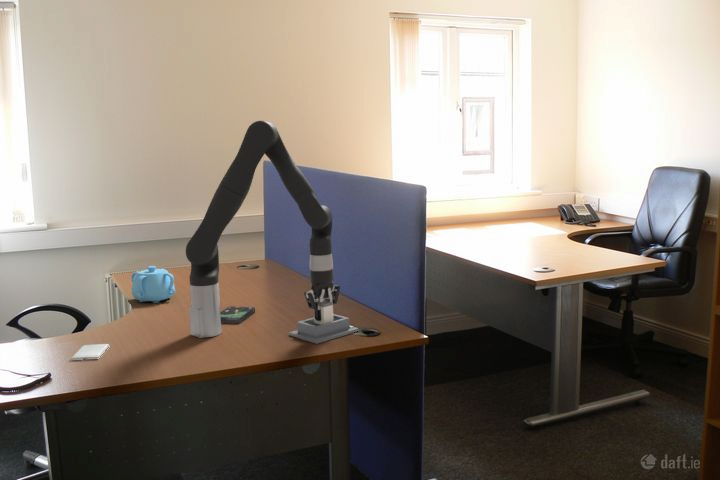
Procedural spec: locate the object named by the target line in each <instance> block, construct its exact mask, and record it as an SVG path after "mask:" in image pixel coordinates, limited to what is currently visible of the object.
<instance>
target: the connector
mask: <svg viewBox="0 0 720 480" xmlns="http://www.w3.org/2000/svg"><path fill="white" fill-rule="evenodd" d="M317 304H318V303H317ZM320 310H321V321H317V320H316V319H315V317H314V316H313V318H314V323H317V324H325V323H328V322H332V321H334V319H333V314H334V305H333V302H331V301H327V300H326V301H325V300H324V299H323V302H322V303H321V309H320Z"/></svg>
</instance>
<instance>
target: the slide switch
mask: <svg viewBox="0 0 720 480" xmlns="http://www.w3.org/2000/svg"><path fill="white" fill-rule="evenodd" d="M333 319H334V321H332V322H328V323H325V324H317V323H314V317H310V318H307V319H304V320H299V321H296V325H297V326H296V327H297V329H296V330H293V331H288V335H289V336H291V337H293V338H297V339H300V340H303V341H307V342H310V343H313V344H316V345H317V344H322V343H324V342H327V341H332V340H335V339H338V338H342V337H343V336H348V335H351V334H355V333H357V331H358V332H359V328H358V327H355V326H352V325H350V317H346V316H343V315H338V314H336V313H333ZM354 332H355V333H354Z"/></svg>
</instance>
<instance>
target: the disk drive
mask: <svg viewBox="0 0 720 480" xmlns="http://www.w3.org/2000/svg"><path fill="white" fill-rule="evenodd" d="M254 314H256V307H255V306H239V307H236V306H233V305H231V306H227V307H226V308H224V309H222V310H220V315H221V324H238V325H239V324H242V323H243V322H245V321H246V320H247V319H248V318H250V317H252V316H253V315H254Z"/></svg>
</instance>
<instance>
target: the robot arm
mask: <svg viewBox="0 0 720 480" xmlns="http://www.w3.org/2000/svg"><path fill="white" fill-rule="evenodd" d="M264 155H265V156H266V157H267V158H268V159H269V160H270V162H271V163H272V165H273V166H274V168H275V170H276V171H277V173H278V176H279V177H280V179H281V181H282V183H283V185H284V187H285V189H286V190H287V192H288V193H289V195H290V197H292V199H293V200H294V202H295V203H296V205H297V206H298V209H299V211H300V212H301V215H302V217H303V219H304V221H305V222H306V223H307V224H308V226H310V228H311V236H310V239H309V276H310V279H309V280H310V283H311V287H310V290H309V291H305V292H304V294H303V295H304V296H305V297H304V298H305V300H306V303H307V307H308V308H309V309H312V310H313V318H314V317H315V319H316V320H317V321H321V310H320V309H321V303H322V302H323V300H325V301H326V300H327V301H331V302H333V306H334V305H336V304H337V303H338V301H339V300H338V299H339V295H340V289H341V286H340V285H337V284H334V283H333V282H334V260H333V254H332V253H333V251H332V249H333V248H332V232H333V231H332V229H333V215H332V211H331V209H330V208H329V207H328V206H327V205H323V204H322V205H321V204H320V202H319V200H318V199H317V197H316V192H315V190H314V188H313V187H312V185H311V183H310V182H309V181H308V179H307V178H306V177H305V175H304V174H303V172H302V170H301V169H300V168H299V167H298V165H297V164H296V162H295V161H294V159H293V158H292V156H291V155H290V153H289V151H288V150H287V148H286V146H285V143H284V141H283V139H282V137H281V135H280V133H279V131H278V129H277V127H276V125H274V123H272V122H270V121H265V120H256V121H253V122H252V123H251V124H250V125H249V126H248V128H247V129H246V132H245V134H244V136H243V140H242V141H241V143H240V146H239V148H238V152H237V154H236V156H235V158H234V160H233V161H232V162H231V164H230V165H229V167H228V169H227V171H226V172H225V174H224V176H223V177H222V179H221V181H220V183H219V184H218V186H217V188H216V190H215V192H214V194H213V197H212V198H211V200H210V203H209V205H208V207H207V210H206V213H205V214H204V216H203V219H202V221H201V222H200V224H199V226H197V227H198V228H197V229H196V230H195V232H194V233H193V235H192V237H191V238H190V239H189V240H188V242H187V243H186V245H185V256H186V259H187V260H188V262H189V263H190V267H191V268H190V274H189V290H190V292H189V293H190V304H191V305H190V306H189V307H188V313H189V329H190V335H191V336H193V337H197V338H199V339H203V338H211V337H216V336H220V335H221V334H222V332H223V331H222V323H221V315H220V312H221V305H220V304H221V303H220V301H221V300H220V286H219V285H220V284H219V275H220V259H219V258H220V257H219V256H220V255H219V253H220V252H219V246H218V243H219V241H220V238H221V236H222V234H223V232H224V230H225V229H226V228H227V227H228V225H229V224H230V222H231V221H233V218H234V217H235V216H236V214H237V213H238V211H239V210H240V208H241V206H242V205H243V203H244V201H245V199H246V197H247V196H248V193H249V191H250V189H251V187H252V183H253V179H254V175H255V172H256V169H257V168H258V165H259V164H260V161H261V160H262V158H263V157H264ZM317 303H318V304H317Z"/></svg>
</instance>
